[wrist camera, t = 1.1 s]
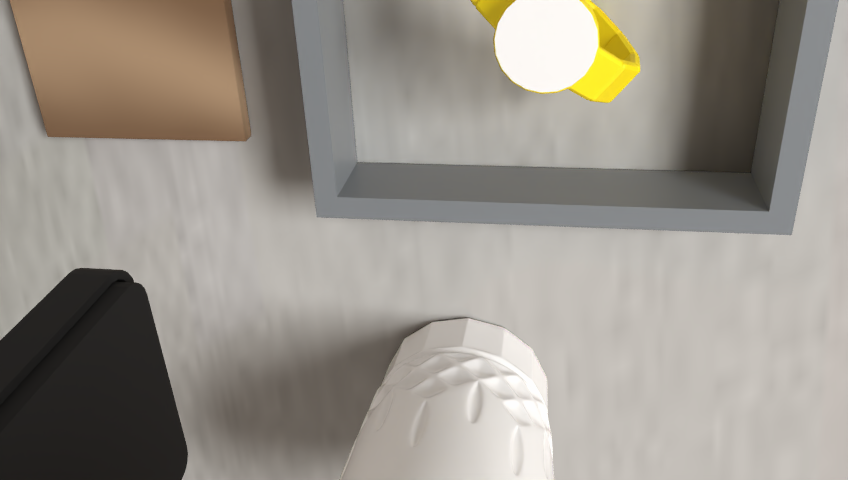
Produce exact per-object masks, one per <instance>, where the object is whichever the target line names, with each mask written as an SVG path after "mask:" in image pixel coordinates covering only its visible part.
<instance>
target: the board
mask: <svg viewBox="0 0 848 480" xmlns="http://www.w3.org/2000/svg"><path fill="white" fill-rule="evenodd" d="M10 3H11V7H12V10H13V14H14V18H15V21H16V25H17V28H18V32H19V35H20V39H21V43H22V46H23V50H24V53H25V57H26V60H27V64H28V68H29V71H30V75H31V78H32V82H33V86H34V89H35V93H36V96H37V100H38V103H39V107H40V111H41V114H42V118H43V121H44V125H45V128H46V132H47V136H48V137H82V138H126V139H171V140H216V141H246V140H247V139H248V138H249V137H250V136H251V130H250V123H249V117H248V110H247V104H246V97H245V90H244V84H243V77H242V70H241V64H240V57H239V51H238V44H237V37H236V31H235V24H234V18H233V11H232V4H231V0H10Z"/></svg>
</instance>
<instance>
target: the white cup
mask: <svg viewBox="0 0 848 480" xmlns="http://www.w3.org/2000/svg"><path fill="white" fill-rule="evenodd" d="M551 436H552V434H551V430H550V425H549V420H548V401H547V377H546V375H545V373H544V371H543V369H542V367H541V365H540V363H539V361H538V359H537V357H536V355H535V353H534V351H533V349H532V348H530V347H529V346H528V345H526V344H525V343H524V342H522V341H521V340H520V339H519V338H517V337H516V336H515V335H513V334H512V333H511V332H509V331H508V330H507V329H505V328H504V327H500V326H496V325H493V324H489V323H485V322H482V321H478V320H474V319H471V318H463V319H454V320H445V321H436V322H432V323H430V324H428V325H426V326H425V327H423V328H421V329H420V330H418V331H416V332H415V333H413V334H411V335H410V336H408V337H406V338H405V339H404V340H403V342H402V343H401V345H400V347H399V349H398V350H397V352H396V354H395V356H394V357H393V359H392V361H391V363H390V364H389V367H388V369H387V372H386V374H385V377H384V380H383V382H382V385H381V386H380V387H379V388H378V390H377V392H376V394H375V396H374V398H373V400H372V403H371V405H370V408H369V410H368V412H367V414H366V417H365V419H364V421H363V423H362V426H361V428H360V431H359V433H358V436H357V438H356V439H355V441H354V444H353V446H352V449H351V451H350V454H349V456H348V459H347V461H346V464H345V466H344V469H343V471H342V474H341V476H340V479H339V480H555V479H554V468H553V449H552V437H551Z"/></svg>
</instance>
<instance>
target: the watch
mask: <svg viewBox="0 0 848 480" xmlns="http://www.w3.org/2000/svg"><path fill="white" fill-rule="evenodd" d="M471 2H472V4H473V5H475V6H476V9H477V10H478V11H479V12H480V13H481V14H482V15H483V17H484V18H485V19H486V20H487V21H488V22H489V23H490V24H491V25H492V26H493V27H494V29H495V34H494V39H493V41H494V52H495V57H496V59H497V61H498V64H499V66H500V68H501V70H502V71H503V73H504V74H505V75H506V76H507V77H508V78H509V79H510V80H511V81H512V82H513V83H514V84H516V85H518V86H519V87H521V88H523V89H525V90H527V91H532V92H536V93H540V94H545V93H557V92H560V91H563V90H565V89H569V90H570V91H572V92H574V93H576V94H578V95H579V96H581V97H583V98H585V99H586V100H590V101H595V102H604V103H610V102H611V101H612V100H613V99H614V98H615V97H616V96H617V95H618V94H619V93H620V92H621V91H622V90H623V89H624V87H625V86H626V85H627V84H628V83H629V82H630V81H631V80H632V79H633V78H634V77H635V76H636V75H637V74H638V73H639V72H640V59H639V56H638V54H637V52H636V51H635V49H634V48H633V47H632V45H631V44H630V42H629V41H628V39H627V38H626V37H625V35H623V34H622V32H621V31H620V30H619V28H618V27H617V26H616V25H615V24H614V23H613V22H612V21H611V20H610V19H609V18H608V17H607V15H606V14H605V13H604V12H603V11H602V10H601V9H600V8H598V7H597V6H596V5H595V4H594V3H593V2H591V1H590V0H471Z"/></svg>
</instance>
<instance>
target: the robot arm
mask: <svg viewBox="0 0 848 480" xmlns="http://www.w3.org/2000/svg"><path fill="white" fill-rule="evenodd" d="M187 457H188V451H187V445H186V441H185V438H184V434H183V430H182V426H181V422H180V418H179V415H178V411H177V407H176V403H175V399H174V396H173V392H172V388H171V384H170V380H169V376H168V373H167V369H166V365H165V361H164V357H163V354H162V350H161V346H160V342H159V338H158V335H157V331H156V327H155V323H154V319H153V315H152V312H151V308H150V304H149V300H148V296H147V293H146V291H145V288H144V287H143V286H142V285H141V284H139V283H134V281H133V278H132V277H131V276H130V275H129V273H128V272H126V271H123V270H111V269H91V268H79V269H75V270H73V271H72V272H70V273H69V274H68V275H67V276H66V277H65V278H64V279H63V280H62V281H61V282H60V283H59V284H58V285H57V286H56V287H55V288H54V289H53V290H52V291H51V292H50V293H48V294H47V295H46V296H45V297H44V298H43V299H42V300H41V301H40V302H39V303H38V304H37V305H36V306H35V307H34V308H33V309H32V310H31V311H30V312H29V313H28V314H27V315H26V316H25V317H24V318H23V319H22V320H21V321H20V322H19V323H18V324H17V325H16V326H15V327H14V328H13V329H12V330H11V331H10V332H9V333H8V334H7V335H6V336H5V337H3V338H2V339H1V340H0V480H182V477H183V475H184V473H185V469H186V465H187Z"/></svg>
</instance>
